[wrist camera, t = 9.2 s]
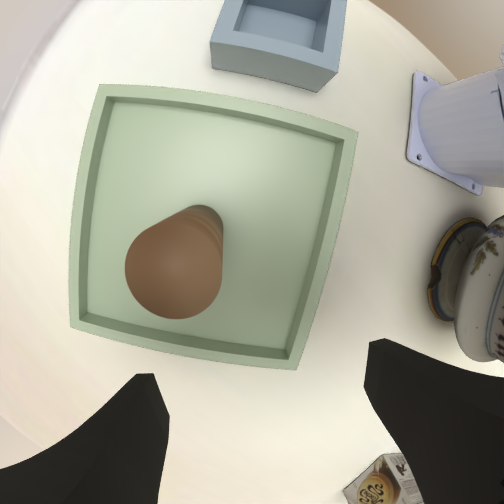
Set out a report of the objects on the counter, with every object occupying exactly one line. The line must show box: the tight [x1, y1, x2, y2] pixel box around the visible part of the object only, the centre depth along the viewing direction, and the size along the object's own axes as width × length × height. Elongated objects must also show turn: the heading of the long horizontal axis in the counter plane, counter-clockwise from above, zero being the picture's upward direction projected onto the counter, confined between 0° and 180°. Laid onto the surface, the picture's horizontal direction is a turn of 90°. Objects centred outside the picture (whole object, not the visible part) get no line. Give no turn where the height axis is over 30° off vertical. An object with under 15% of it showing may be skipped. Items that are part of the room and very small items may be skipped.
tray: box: [69, 84, 358, 370], centre depth 16 cm, size 16×16×2 cm
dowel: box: [125, 205, 224, 319], centre depth 12 cm, size 3×3×9 cm
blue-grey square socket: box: [210, 0, 347, 92], centre depth 13 cm, size 7×7×4 cm
